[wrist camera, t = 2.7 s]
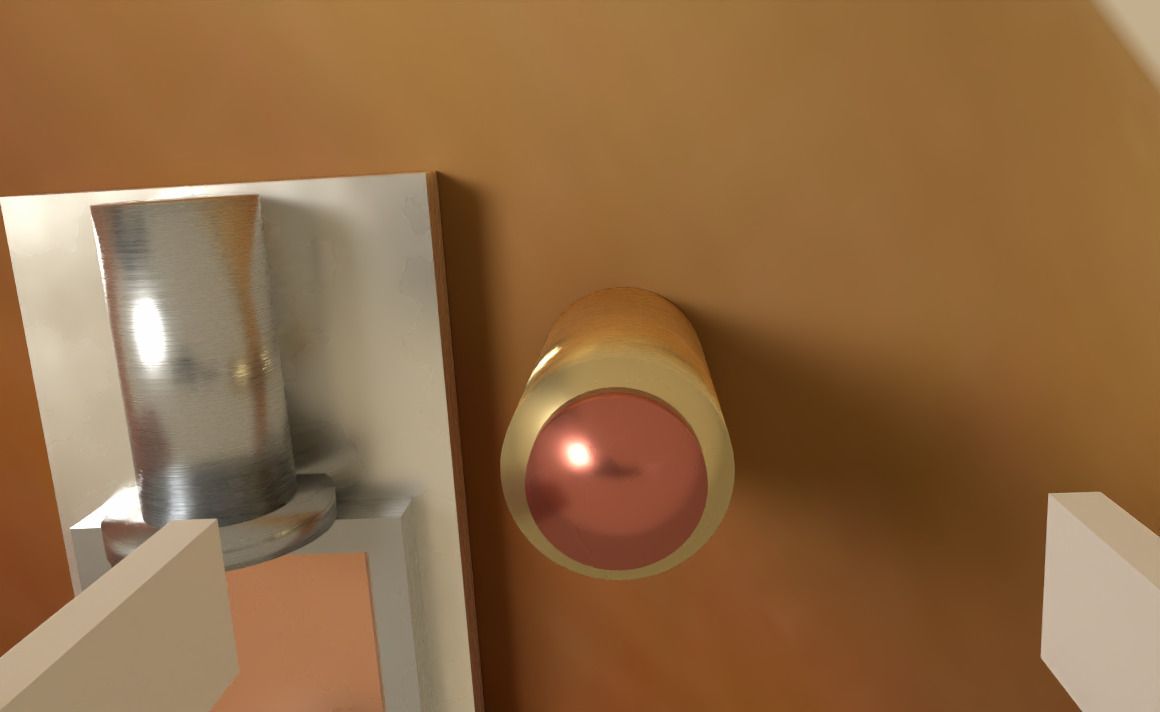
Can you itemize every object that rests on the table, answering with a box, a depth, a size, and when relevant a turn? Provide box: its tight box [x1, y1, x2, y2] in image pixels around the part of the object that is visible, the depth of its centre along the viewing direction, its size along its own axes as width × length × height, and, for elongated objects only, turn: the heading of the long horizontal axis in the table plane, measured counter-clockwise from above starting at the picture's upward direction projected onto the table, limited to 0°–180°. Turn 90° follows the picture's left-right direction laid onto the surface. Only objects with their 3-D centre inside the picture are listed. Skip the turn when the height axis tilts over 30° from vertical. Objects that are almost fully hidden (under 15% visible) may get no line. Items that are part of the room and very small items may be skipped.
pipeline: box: [0, 171, 485, 712], centre depth 28 cm, size 28×12×6 cm, turn 3°
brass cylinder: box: [500, 287, 735, 580], centre depth 24 cm, size 5×5×10 cm
